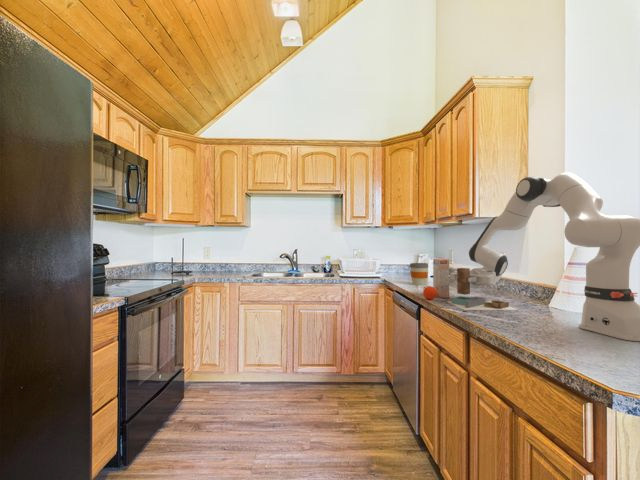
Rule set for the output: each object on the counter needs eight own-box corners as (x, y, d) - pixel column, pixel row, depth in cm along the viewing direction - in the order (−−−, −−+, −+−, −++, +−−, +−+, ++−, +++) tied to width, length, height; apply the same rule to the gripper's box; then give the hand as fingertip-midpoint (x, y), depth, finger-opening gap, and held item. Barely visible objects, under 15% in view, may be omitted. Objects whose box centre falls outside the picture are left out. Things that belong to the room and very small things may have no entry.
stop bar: (469, 293, 150) (469, 268, 150) (465, 294, 148) (465, 268, 148) (462, 292, 154) (461, 267, 154) (457, 293, 151) (457, 268, 151)
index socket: (476, 303, 150) (475, 298, 150) (466, 305, 145) (466, 300, 145) (460, 301, 156) (460, 296, 156) (451, 303, 151) (451, 298, 152)
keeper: (508, 306, 142) (508, 302, 142) (500, 308, 138) (500, 304, 138) (492, 304, 148) (492, 300, 148) (484, 306, 144) (484, 301, 144)
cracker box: (449, 298, 171) (449, 259, 171) (438, 298, 172) (437, 259, 172) (443, 294, 184) (443, 258, 185) (433, 294, 185) (432, 258, 186)
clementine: (418, 298, 170) (418, 285, 170) (427, 297, 173) (427, 284, 173) (431, 301, 163) (431, 287, 163) (439, 299, 167) (439, 286, 167)
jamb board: (518, 311, 136) (518, 303, 136) (464, 312, 137) (464, 304, 137) (493, 303, 156) (492, 296, 156) (446, 303, 157) (446, 296, 157)
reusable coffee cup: (407, 284, 227) (407, 263, 227) (414, 282, 237) (414, 262, 237) (424, 286, 219) (424, 264, 219) (431, 284, 229) (430, 263, 229)
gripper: (458, 269, 167) (442, 270, 159) (499, 272, 150) (483, 274, 142) (458, 281, 167) (443, 283, 159) (499, 285, 150) (483, 288, 142)
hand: (462, 279), depth 150 cm, fingers closed on stop bar, 4 cm apart
